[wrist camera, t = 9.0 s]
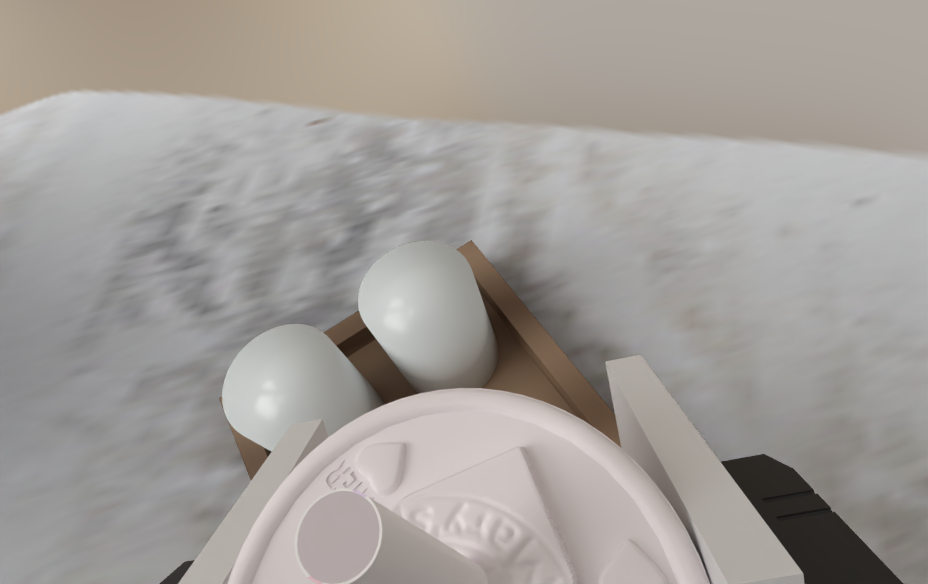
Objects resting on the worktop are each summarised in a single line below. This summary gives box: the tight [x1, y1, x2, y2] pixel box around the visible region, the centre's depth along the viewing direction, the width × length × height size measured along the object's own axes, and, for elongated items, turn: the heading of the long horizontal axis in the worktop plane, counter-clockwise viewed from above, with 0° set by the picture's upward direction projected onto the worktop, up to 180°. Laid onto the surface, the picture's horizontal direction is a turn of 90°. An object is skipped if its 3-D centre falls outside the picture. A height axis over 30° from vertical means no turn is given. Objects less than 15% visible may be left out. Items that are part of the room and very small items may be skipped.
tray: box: [219, 240, 621, 480], centre depth 23 cm, size 20×14×2 cm
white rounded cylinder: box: [222, 324, 385, 452], centre depth 24 cm, size 5×5×6 cm
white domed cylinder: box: [358, 241, 498, 394], centre depth 25 cm, size 5×5×6 cm
